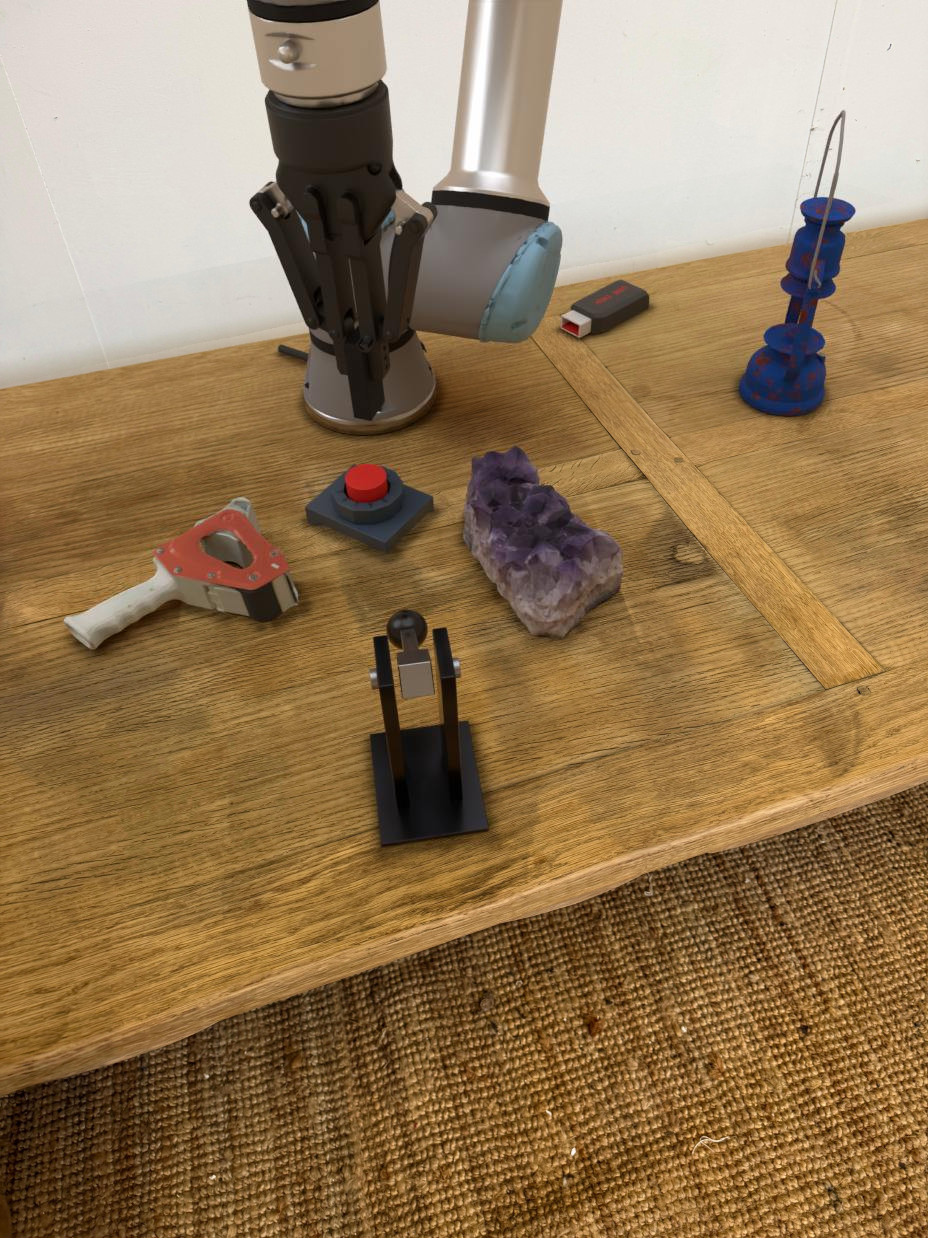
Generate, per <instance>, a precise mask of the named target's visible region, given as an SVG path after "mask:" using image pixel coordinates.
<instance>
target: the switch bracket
mask: <svg viewBox="0 0 928 1238" xmlns="http://www.w3.org/2000/svg"><path fill="white" fill-rule="evenodd" d="M431 631H432V633H431V635H432V646H433V657H434V669H435V681H436V693H437V695H436V696H437V705H438V706H437V707H438V718H439V719H438V720H439V723H438V724H433V725H426V726H425V725H424V726H418V727H411V728H404V729H401V724H400V716H399V709H398V702H397V694H396V687H395V680H394V673H393V671H394V670H393V665H392V657H391V650H390V641H389V639H388V636H387V634H383V635H377V636H375V635H374V636H373V637H372V643H373V652H374V659H375V660H374V661H375V667H374V668H369V669H368V670H369V679H370V680H369V681H370V686H371V690H374V691H375V690H378V693H379V694H378V695H379V700H380V706H381V714H382V719H383V725H384V731H382V732H376V733H375V732H374V733H370V734H369V742H370V751H371V761H372V772H373V781H374V790H375V791H374V792H375V801H376V811H377V821H378V831H379V832H378V833H379V841H380V847H381V848H385V847H391V846H392V847H393V846H398V845H405V844H411V843H420V842H426V841H432V840H433V841H434V840H440V839H445V838H453V837H458V836H460V837H461V836H465V835H466V836H467V835H473V834H478V833H484V832H485V833H487V832H489V831H490V827H489V821H488V816H487V813H486V812H487V811H486V806H485V801H484V796H483V791H482V785H481V781H480V775H479V770H478V764H477V761H476V760H477V759H476V754H475V748H474V743H473V738H472V734H471V730H470V729H471V728H470V722H469V720H461V721H459V705H458V689H457V679H461V678H462V669H461V663H460V658H459V657H458V656H457V657H456V656H455V657H453V654H452V646H451V642H450V637H449V632H448V631H449V630H448V628H447V627H445V626H444V627H436V628H432V630H431Z"/></svg>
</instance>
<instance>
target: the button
mask: <svg viewBox="0 0 928 1238" xmlns="http://www.w3.org/2000/svg"><path fill="white" fill-rule="evenodd" d="M380 466H381V465H377V464H373V463H362V464H358V466H355V467H353V468H351V469H350V470H349V471H348V472H347V474H346V476H345V482H346V488H347V494H348V496H349V497H350V499H352V500H353V501H355V502H358V503H371V502H374V501H377V500H380V499H382V498H383V497H384V496H385V495H386V494H387V491H388V485H387V477H386V472H385V470H384V469H383V468H381V467H380Z"/></svg>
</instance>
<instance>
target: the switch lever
mask: <svg viewBox="0 0 928 1238" xmlns="http://www.w3.org/2000/svg"><path fill="white" fill-rule="evenodd" d="M385 628H386V629H385V631H386V632H385V633H386V635H387V636H388V642H389V644H391V645H392V646H393V647H394V648H395V649H398V650H400V651H398V652H395V654H396V655H395V657H396V664H397V671H398V679H399V686H400V694H401V699H402V700H408V699H415V698H422V697H430V696H435V695H436V690H435V681H434V672H433V664H432V659H431V655H430V651H429V650H430V649H429V648H421V649H420V647H421V646H422V645H423V644H424V643H425V641H426V639H427V637H428V632H429V627H428V622H427V620H426V619H425V617H424V616H423V615H422V614H421V613H420V612H418V611H416V610H415V609H414V610H413V609H411V608H409V609H408V608H405V609H404V608H403V609H400V610H398V611H396V612H394V613H393V614H392V615H391V616H390V617H389V619H388V621H387V622H386V627H385Z"/></svg>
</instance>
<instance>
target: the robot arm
mask: <svg viewBox="0 0 928 1238" xmlns="http://www.w3.org/2000/svg"><path fill="white" fill-rule="evenodd" d="M563 2H564V0H468V3H467V12H466V13H467V14H466V22H465V31H464V40H463V49H462V50H463V51H462V60H461V68H460V69H461V70H460V76H459V86H458V87H459V88H458V96H457V105H456V113H455V114H456V115H455V125H454V132H453V140H452V150H451V151H452V152H451V161H450V169H449V171H448V173H447V174H446V175H445V176H444V177H443V178H442V179H441V180H440V181H439V182H437V183H436V184H435V185H434V186H433V187H432V190H431V199H430V201H425V202H423V203H422V204H421V203H419V202H418V201H417V200H416V199H414V198H413V197H412V196H410V194H408V193H406V191H405V190H404V188H403V180H402V177H401V175H400V173H399V171H398V170H397V168H396V165H395V162H394V135H393V125H392V115H391V114H392V113H391V104H390V103H391V102H390V92H389V87H388V86H387V83H385V82H384V81H383V80H382V79H383V78H384V77H385V76H386V74H387V71H388V65H387V55H386V47H385V39H384V37H385V36H384V29H383V28H384V27H383V21H382V20H383V19H382V10H381V1H380V0H246V4H247V11H248V16H249V22H250V26H251V32H252V38H253V43H254V48H255V49H254V50H255V53H256V60H257V64H258V70H259V75H260V80H261V83H262V84H263V86H264V87H265V88H267V89H268V91H267V93H266V95H265V97H264V105H265V112H266V117H267V122H268V128H269V133H270V139H271V145H272V149H273V153H274V156H275V157H276V158H277V159H278V161H277V162H278V164H277V168H276V170H275V181H272V180H270V181H268V182H267V183H266V184H265V185H263V186H262V187H261V188H260V189H259V190H258V191H257V192H256V193H255V194H253V196H251V197H250V199H249V201H248V204H249V208H250V209H251V211H252V213H254V215H255V216H256V218H257V219H258V220H259V222H260V224H262V226H263V227H264V228H265V230H266V231H267V233H268V235H269V238H270V240H271V243H272V245H273V248H274V250H275V253H276V256H277V257H278V260H279V262H280V265H281V267H282V270H283V272H284V275H285V277H286V280H287V282H288V285H289V287H290V289H291V291H292V294H293V297H294V299H295V301H296V304H297V306H298V309H299V311H300V314H301V317H302V319H303V322H304V323H305V326H306V327H307V328H308V332H309V338H310V345H309V351H308V352H305V351H302V350H300V349H296V348H293V347H291V346H287V345H285V344H278V346H277V351H278V353H281V354H284V355H287V356H290V357H293V358H295V359H298V360H301V361H303V362H306V367H305V375H304V378H303V383H302V395H303V400H304V405H305V409H306V411H307V413H308V415H309V416H310V417H311V419H312V420H314V421H315V422H316V423H317V424H319V425H320V426H322V427H324V428H326V429H328V430H331V431H335V432H337V433H342V434H346V435H356V436H357V435H358V436H369V435H379V434H385V433H389V432H390V433H391V432H394V431H397V430H400V429H403V428H405V427H408V426H410V425H412V424H413V423H416V422H417V421H418V420H421V418H423V417H425V415H426V414H427V413H428V412H429V411H430V410H431V409H432V407H433V405H434V404H435V401H436V397H437V386H436V374H435V372H434V369H433V367H432V365H431V363H430V362H429V360H428V359H427V358H426V354H428V351H427V349H426V346H425V344H424V342H423V341H421V340H420V337H419V336H418V333H417V332H422V333H423V332H424V333H429V334H437V335H441V336H442V335H443V336H449V337H456V338H463V339H470V340H477V341H479V342H480V343H484V344H485V343H490V342H493V343H503V344H511V345H513V344H516V345H517V344H520V343H523V342H525V341H528V339H530V338H531V337H532V335H534V334H535V332H536V331H537V330H538V328H539V326H540V324H541V323H542V321H543V319H544V316H545V315H546V312H547V310H548V306H549V305H550V301H551V299H552V295H553V293H554V289H555V285H556V281H557V277H558V274H559V270H560V266H561V258H562V253H561V252H562V247H563V240H564V239H563V233H562V229H561V228H560V226H559V225H557V224H555V223H554V222H553V221H549V217H550V209H551V203H550V201H549V200H548V198H547V196H546V195H545V193H544V192H543V190H542V189H541V187H540V185H539V184H540V183H539V176H540V175H539V174H540V168H541V162H542V154H543V145H544V139H545V132H546V124H547V117H548V112H549V111H548V110H549V103H550V97H551V88H552V81H553V75H554V69H555V67H554V66H555V61H556V60H555V59H556V53H557V47H558V46H557V45H558V39H559V31H560V23H561V17H562V9H563ZM425 353H426V354H425Z"/></svg>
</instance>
